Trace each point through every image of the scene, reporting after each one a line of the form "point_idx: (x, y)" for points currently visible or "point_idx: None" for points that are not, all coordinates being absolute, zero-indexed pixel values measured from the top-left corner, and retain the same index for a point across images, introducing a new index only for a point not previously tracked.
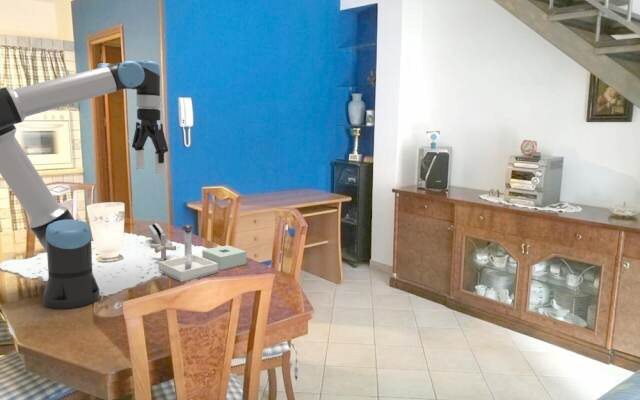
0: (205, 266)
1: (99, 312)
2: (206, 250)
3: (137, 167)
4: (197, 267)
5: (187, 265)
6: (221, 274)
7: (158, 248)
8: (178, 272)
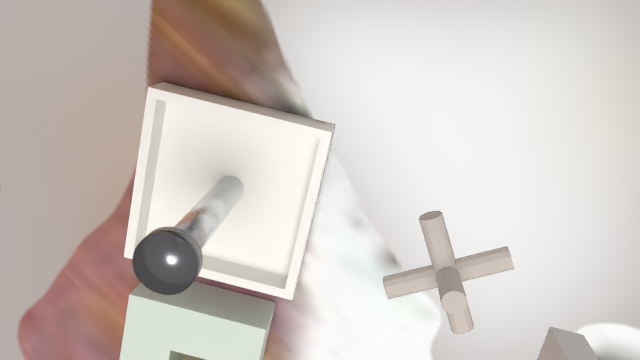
0: (132, 200)
1: None
2: (249, 337)
3: (555, 344)
4: (143, 170)
5: (216, 183)
6: (114, 234)
7: (426, 226)
8: (170, 90)
